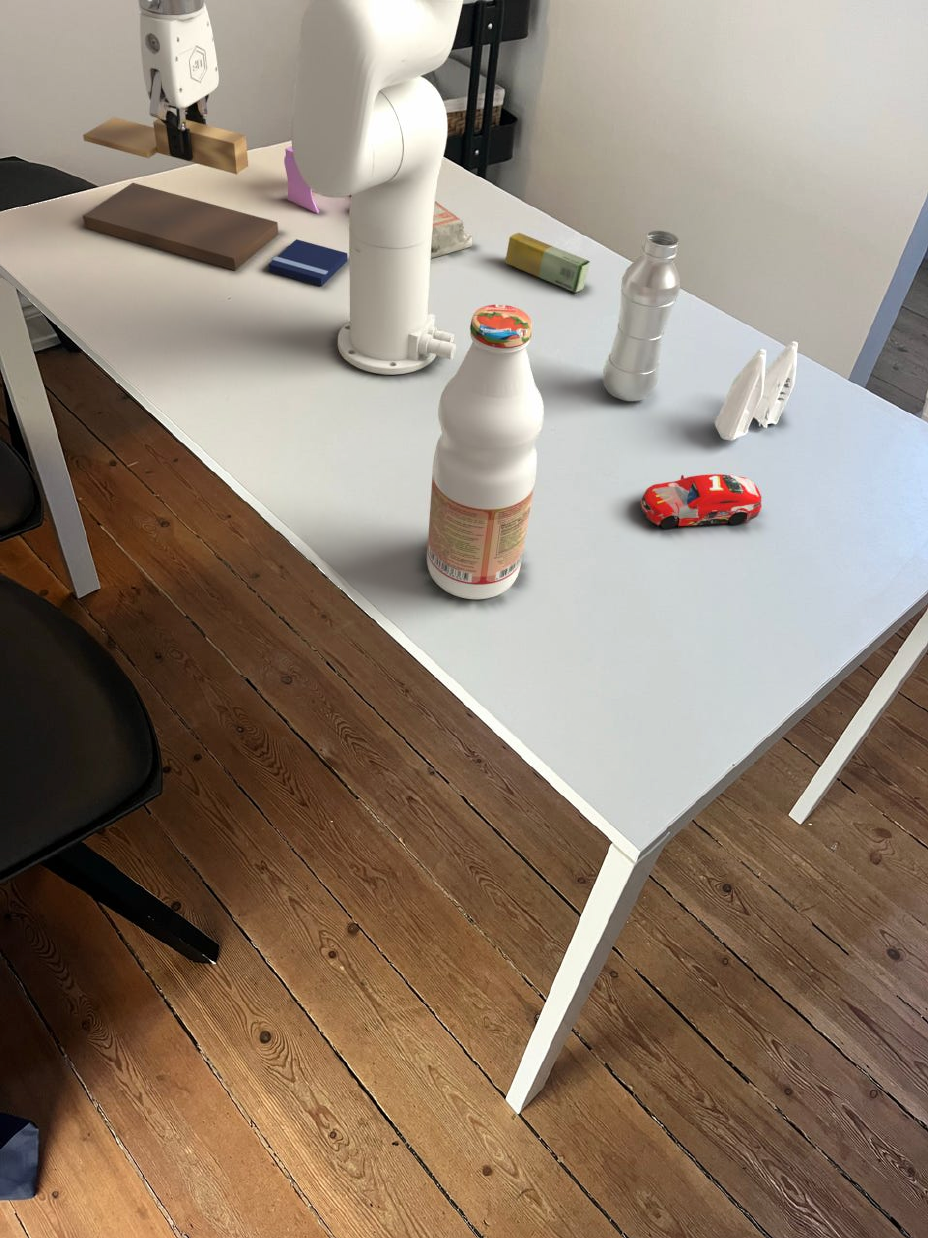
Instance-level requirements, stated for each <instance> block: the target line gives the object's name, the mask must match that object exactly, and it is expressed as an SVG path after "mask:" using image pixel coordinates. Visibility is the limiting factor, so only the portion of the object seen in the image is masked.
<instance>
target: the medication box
mask: <svg viewBox="0 0 928 1238" xmlns="http://www.w3.org/2000/svg"><path fill="white" fill-rule="evenodd" d="M504 263H505V264H506V265H509V266H511V267H513V268H516V269H517V270H520V271H523V272H526V273H528V274H529V275H533V276H535V277H537V278H540V279H542V280H544V281H547V282H549V283H552V284H554V285H556V286H559V287H561V288H563V289H566V290H568V291H570V292H572V293H574V294H577V293H579V292H581V291H583V290H584V288H585V284H586V281H587V276H588V272H589V267H590V264H591V261H590V260H588V259H585V258H583V257H581V256H578V255H576V254H573V253H571V252H568V251H566V250H563V249H561V248H559V247H556V246H553V245H551V244H548V243H546V242H543V241H540V240H539V239H536V238H533V237H532V236H528V235H526V234H523V233H521V232H516V233H514V234H512V235H511V236H509V239H508V245H507V250H506V257H505V260H504Z"/></svg>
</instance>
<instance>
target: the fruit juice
mask: <svg viewBox="0 0 928 1238" xmlns="http://www.w3.org/2000/svg"><path fill="white" fill-rule="evenodd" d="M469 331H470V333H469V334H470V339H471V344H470V346H469V348H468V350H467V352H466V354H465V356H464V358H463V360H462V362H461V364H460V366H459V368H458V370H457V371H456V373H455V374H454V376H453V377H451V379H450V380H449V381H448V382H447V383H446V385H445V386H444V388H443V390H442V392H441V394H440V398H439V403H438V409H437V410H438V411H437V413H438V422H439V426H440V431H441V434H440V436H439V437H438V440H437V442H436V446H435V449H434V453H433V454H434V455H433V461H432V473H431V489H430V503H429V505H430V506H429V519H428V520H429V521H428V535H427V548H426V549H427V551H426V564H427V569H428V571H429V575H430V576H431V579H432V580H433V581H434V583H435V584H436V585H437V586H439V587H440V588H441V590H443V591H444V592H446V593H448V594H450V595H453V596H455V597H458V598H463V599H468V600H484V599H485V600H486V599H490V598H494V597H496V596H499V595H501V594H503V593H505V592H506V591H507V590H508V589H510V588H511V587H512V585H514V583H515V582H516V580H517V578H518V577H519V573H520V570H521V565H522V560H523V553H524V547H525V541H526V536H527V530H528V523H529V518H530V513H531V506H532V500H533V494H534V488H535V485H536V477H537V470H538V469H537V468H538V454H537V449H536V445H535V444H536V441H537V440H538V438H539V436H540V433H541V432H542V428H543V425H544V418H545V407H544V406H545V405H544V401H543V398H542V394H541V392H540V391H539V389H538V387H537V385H536V382H535V379H534V376H533V373H532V367H531V364H530V359H529V354H528V351H527V347H528V345H529V343H530V340H531V338H532V333H533V323H532V319H531V318H530V316H529V315H528V314H527V313H526V312H525V311H524V310H521V309H519V308H517V307H515V306H511V305H506V304H489V305H485V306H482V307H480V308H477V310H476V311H475V312H474V313H473V315H472V317H471V321H470V325H469Z"/></svg>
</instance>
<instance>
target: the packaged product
mask: <svg viewBox="0 0 928 1238" xmlns="http://www.w3.org/2000/svg"><path fill="white" fill-rule="evenodd" d="M464 228H465V226H464V222H463V219H461V218H459V217H458V216H456V215H455V214H454V213H453V212H451V211H450V210H448V209H447V208H445V207H444V206H442V205H441V204H440V203H439V202H437V201H436V200H435V202H434V214H433V231H432V242H431V259H433V258H436V257H440V256H444V255H447V254H452V253H454V252H458V251H461V250H465V249H469V248H470V247H473V235H469V233H468V232H467V231H464Z"/></svg>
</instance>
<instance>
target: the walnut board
mask: <svg viewBox="0 0 928 1238" xmlns="http://www.w3.org/2000/svg"><path fill="white" fill-rule="evenodd" d="M82 219H83V225H84V228H85V229H88V230H92V231H95V232H98V233H102V234H106V235H109V236H113V237H116V238H119V239H123V240H126V241H130V242H133V243H137V244H140V245H145V246H148V247H151V248H154V249H158V250H162V251H165V252H168V253H172V254H175V255H178V256H182V257H185V258H190V259H192V260H195V261H200V262H203V263H206V264H211V265H214V266H217V267H221V268H223V269H228V270H231V271H235V272H236V271H237V270H238V269H240V267H241V266H243V265H244V264H245V263H247V261H249V260H250V259H251V258H252V257H253V256H254V255H256V254H257V253H258V252H259V251H261V249H263V248H264V247H265V246H266V245H268V243H270V242H271V241H272V240H273V239H275V237H277V236H278V235H279V225H278V221H274V220H271V219H268V218H264V217H260V216H257V215H253V214H249V213H245V212H242V211H238V210H234V209H231V208H228V207H224V206H220V205H216V204H213V203H209V202H205V201H201V200H198V199H194V198H190V197H187V196H183V195H180V194H176V193H172V192H169V191H165V190H161V189H158V188H154V187H150V186H147V185H143V184H141V183H140V184H139V183H136V182H131V183H130V184H128V185H127V186H125V187H124V188H122V189H120V190H119V191H118V192H116V193H114V194H113V195H111V196H110V197H108V198H107V199H106V200H104V201H103V202H101V203H99V204H98V205H96V206H95V207H93V208H92V209H90V210H89V211H87V212H86V213H84V214H83V215H82Z"/></svg>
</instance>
